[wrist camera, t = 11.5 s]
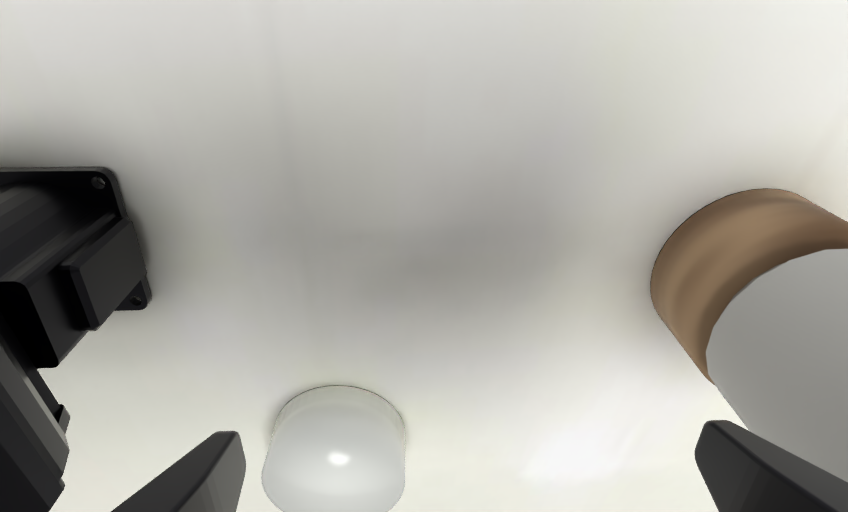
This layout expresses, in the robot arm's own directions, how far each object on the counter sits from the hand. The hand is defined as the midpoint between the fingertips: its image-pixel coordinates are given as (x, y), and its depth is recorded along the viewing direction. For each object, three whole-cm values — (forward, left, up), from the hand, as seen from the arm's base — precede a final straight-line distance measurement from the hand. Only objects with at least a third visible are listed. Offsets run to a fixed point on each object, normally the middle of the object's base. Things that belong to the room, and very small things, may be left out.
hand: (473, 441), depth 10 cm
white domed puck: (-5, -14, -13) cm, 20 cm away
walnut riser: (+14, -4, -13) cm, 19 cm away
